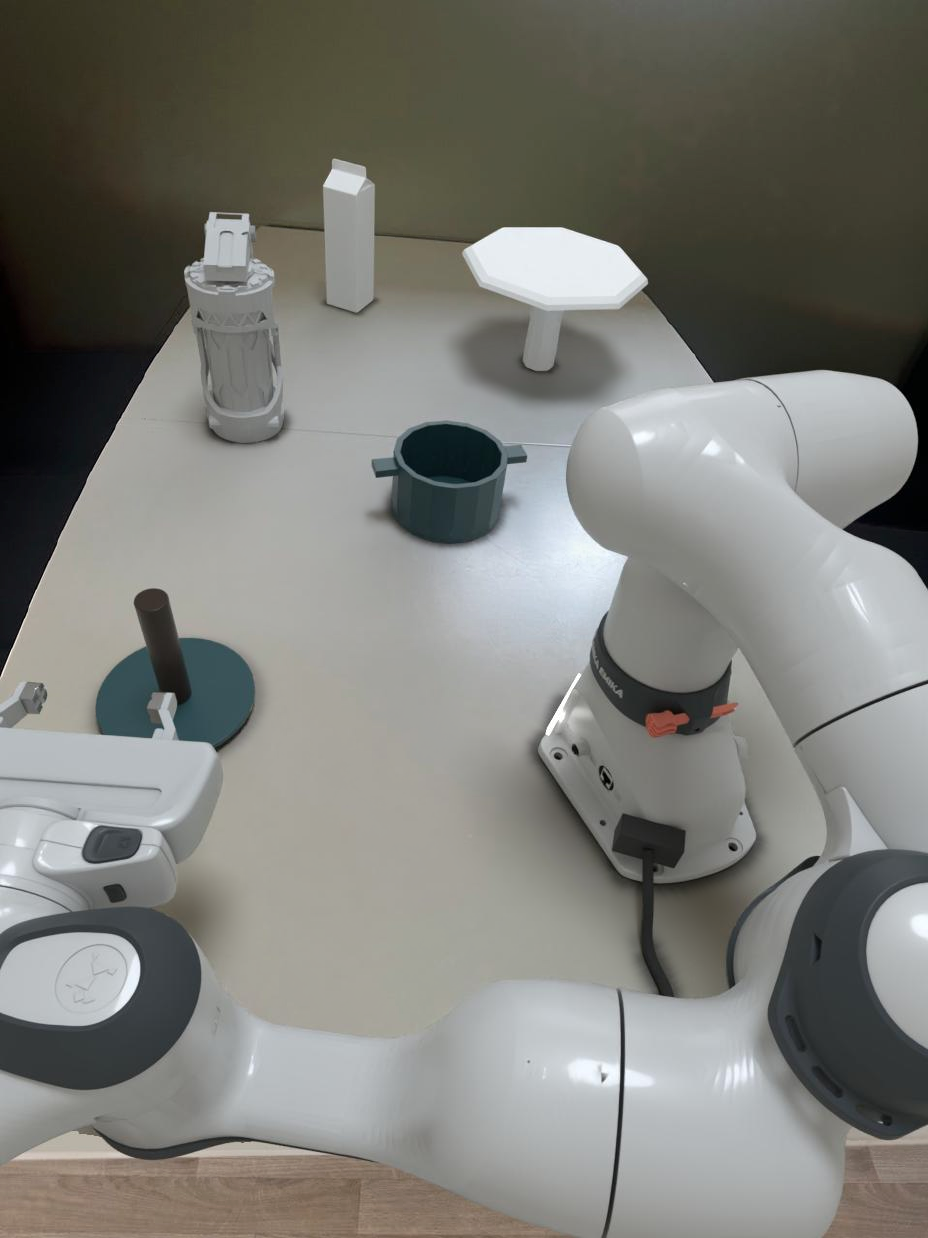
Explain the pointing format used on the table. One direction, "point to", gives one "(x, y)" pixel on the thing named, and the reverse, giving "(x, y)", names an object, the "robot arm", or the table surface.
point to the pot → (448, 480)
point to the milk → (349, 236)
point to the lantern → (236, 333)
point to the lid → (176, 681)
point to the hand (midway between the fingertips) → (100, 691)
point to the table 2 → (553, 279)
